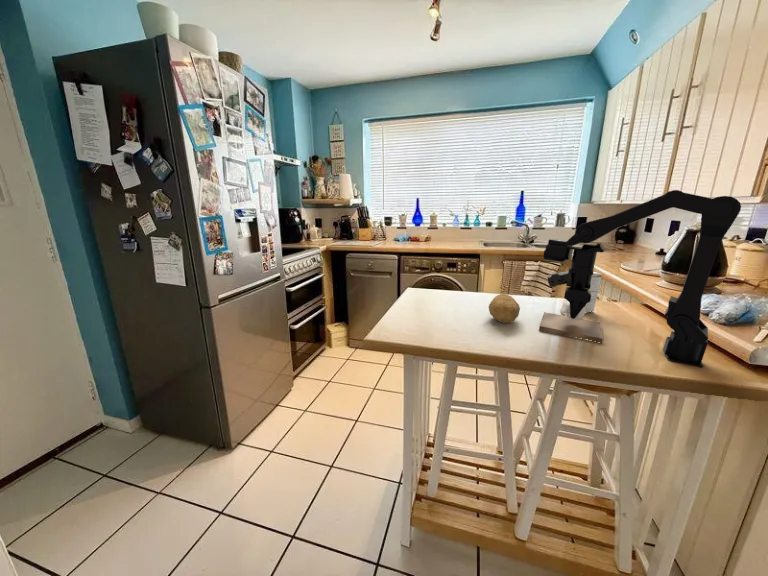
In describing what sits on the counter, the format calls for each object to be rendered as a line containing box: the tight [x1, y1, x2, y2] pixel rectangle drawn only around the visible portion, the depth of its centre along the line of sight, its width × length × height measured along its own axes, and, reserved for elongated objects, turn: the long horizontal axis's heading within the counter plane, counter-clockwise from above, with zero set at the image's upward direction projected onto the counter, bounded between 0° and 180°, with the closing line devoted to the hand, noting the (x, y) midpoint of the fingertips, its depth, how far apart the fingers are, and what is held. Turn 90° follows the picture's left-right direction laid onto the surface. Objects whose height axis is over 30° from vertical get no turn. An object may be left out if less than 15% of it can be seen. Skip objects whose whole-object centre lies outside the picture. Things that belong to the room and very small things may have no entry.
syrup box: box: [584, 271, 603, 312], centre depth 109 cm, size 6×6×14 cm
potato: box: [488, 293, 521, 324], centre depth 100 cm, size 10×14×8 cm
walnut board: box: [538, 311, 604, 344], centre depth 95 cm, size 16×14×2 cm
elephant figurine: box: [559, 299, 587, 320], centre depth 94 cm, size 7×8×6 cm
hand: (572, 315), depth 94 cm, fingers closed on elephant figurine, 6 cm apart
